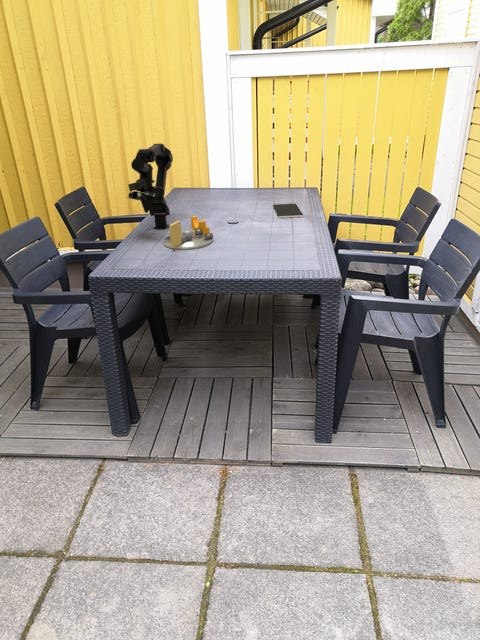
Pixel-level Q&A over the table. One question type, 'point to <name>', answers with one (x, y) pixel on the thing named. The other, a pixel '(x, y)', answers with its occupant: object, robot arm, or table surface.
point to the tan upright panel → (178, 234)
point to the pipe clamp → (199, 225)
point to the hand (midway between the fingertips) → (146, 212)
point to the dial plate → (192, 241)
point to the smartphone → (287, 211)
